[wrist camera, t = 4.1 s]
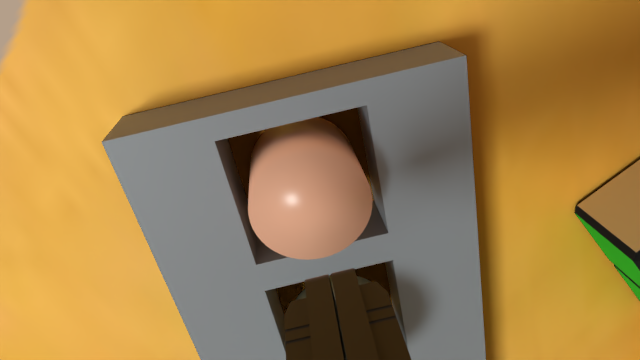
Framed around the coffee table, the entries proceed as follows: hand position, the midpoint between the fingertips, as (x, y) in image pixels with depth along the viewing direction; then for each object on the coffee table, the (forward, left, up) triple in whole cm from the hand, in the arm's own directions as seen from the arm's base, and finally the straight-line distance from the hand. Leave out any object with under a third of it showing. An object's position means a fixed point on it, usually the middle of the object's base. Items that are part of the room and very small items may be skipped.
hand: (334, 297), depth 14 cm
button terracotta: (0, 0, -9) cm, 9 cm away
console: (0, +7, -9) cm, 12 cm away
